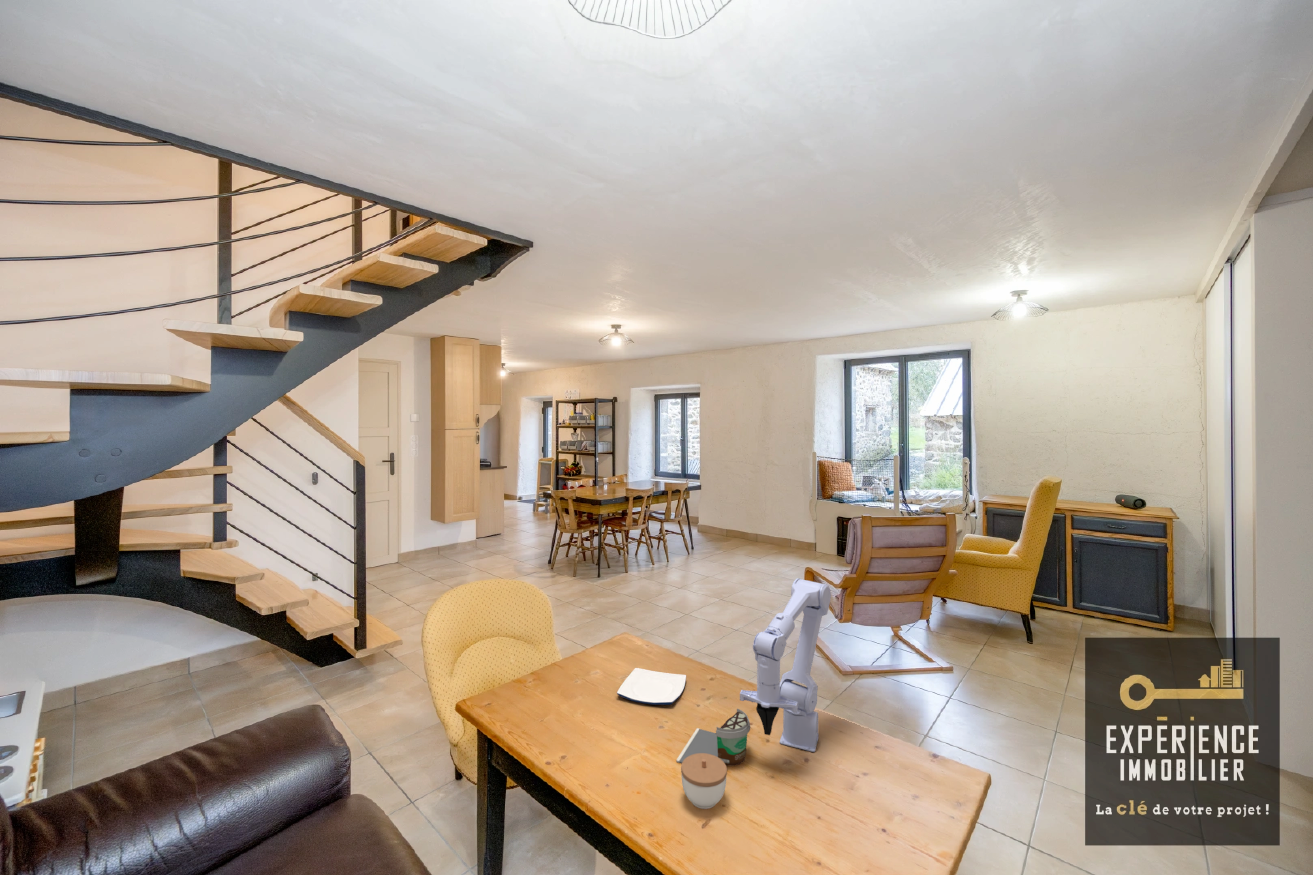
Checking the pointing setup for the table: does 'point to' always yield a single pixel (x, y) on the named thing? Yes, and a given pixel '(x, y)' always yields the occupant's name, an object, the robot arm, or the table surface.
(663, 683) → the plate
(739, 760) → the food container
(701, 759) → the lidded jar
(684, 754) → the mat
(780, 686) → the robot arm
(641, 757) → the table surface
